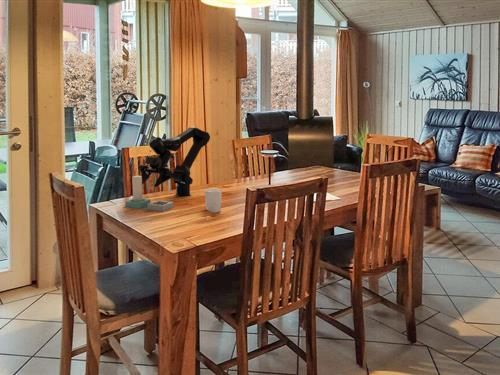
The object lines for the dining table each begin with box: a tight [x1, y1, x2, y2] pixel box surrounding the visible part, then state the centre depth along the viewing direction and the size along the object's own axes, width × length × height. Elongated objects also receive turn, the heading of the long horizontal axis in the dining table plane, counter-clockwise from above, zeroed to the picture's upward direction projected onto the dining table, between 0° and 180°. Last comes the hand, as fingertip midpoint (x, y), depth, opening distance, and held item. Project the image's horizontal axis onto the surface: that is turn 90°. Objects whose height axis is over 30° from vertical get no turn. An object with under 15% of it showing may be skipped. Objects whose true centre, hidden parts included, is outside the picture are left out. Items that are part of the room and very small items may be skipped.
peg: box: [131, 175, 144, 202], centre depth 246 cm, size 4×4×14 cm
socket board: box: [123, 198, 175, 213], centre depth 245 cm, size 22×11×4 cm, turn 66°
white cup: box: [204, 187, 223, 214], centre depth 241 cm, size 8×8×10 cm
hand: (147, 185), depth 252 cm, fingers open, 9 cm apart
